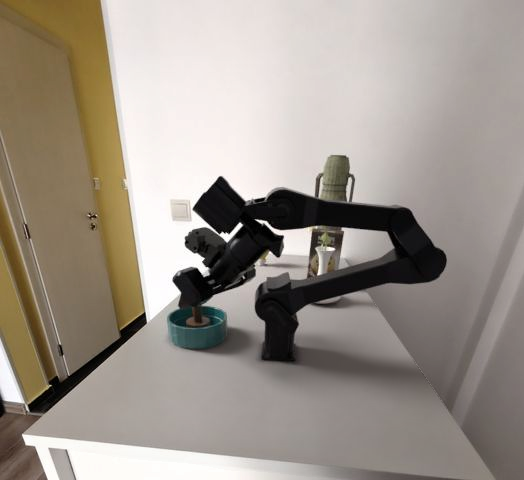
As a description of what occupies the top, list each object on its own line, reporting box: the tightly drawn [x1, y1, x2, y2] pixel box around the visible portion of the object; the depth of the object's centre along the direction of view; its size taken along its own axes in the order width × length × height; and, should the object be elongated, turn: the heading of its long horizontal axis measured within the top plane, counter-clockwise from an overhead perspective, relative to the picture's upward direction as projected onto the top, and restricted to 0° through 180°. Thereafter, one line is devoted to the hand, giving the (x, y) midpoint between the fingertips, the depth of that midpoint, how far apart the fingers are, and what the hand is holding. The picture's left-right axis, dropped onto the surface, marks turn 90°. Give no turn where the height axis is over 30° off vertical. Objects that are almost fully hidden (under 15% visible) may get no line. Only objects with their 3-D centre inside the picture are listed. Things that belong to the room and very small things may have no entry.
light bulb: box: [256, 250, 271, 267], centre depth 119 cm, size 7×7×10 cm
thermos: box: [314, 154, 356, 231], centre depth 106 cm, size 9×12×35 cm
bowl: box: [166, 304, 228, 350], centre depth 69 cm, size 12×12×4 cm
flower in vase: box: [307, 226, 342, 305], centre depth 84 cm, size 13×11×25 cm
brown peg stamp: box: [186, 305, 210, 328], centre depth 67 cm, size 5×5×10 cm
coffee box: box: [306, 227, 345, 278], centre depth 99 cm, size 9×6×16 cm
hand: (195, 300), depth 66 cm, fingers open, 9 cm apart
